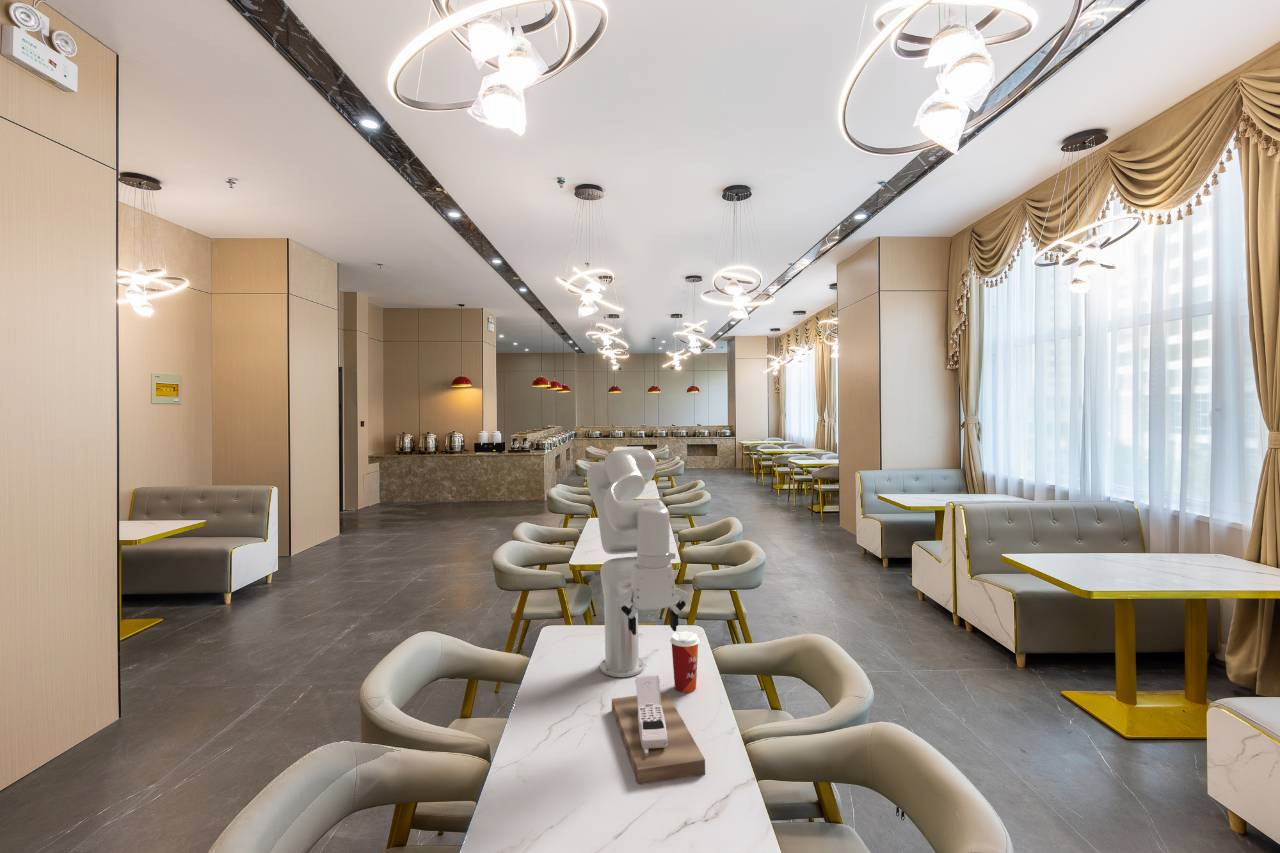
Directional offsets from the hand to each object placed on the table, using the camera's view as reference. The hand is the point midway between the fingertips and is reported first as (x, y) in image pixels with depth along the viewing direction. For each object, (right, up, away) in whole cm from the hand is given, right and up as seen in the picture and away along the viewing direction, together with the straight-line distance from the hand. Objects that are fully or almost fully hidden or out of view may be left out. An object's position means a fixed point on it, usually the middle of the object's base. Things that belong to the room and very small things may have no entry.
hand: (653, 630), depth 143 cm
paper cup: (+9, -22, +19) cm, 30 cm away
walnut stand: (0, -23, -6) cm, 23 cm away
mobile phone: (-1, -20, -6) cm, 20 cm away
